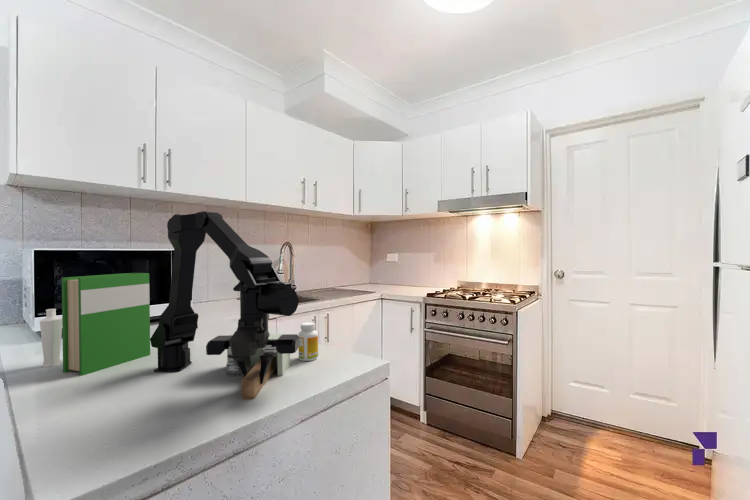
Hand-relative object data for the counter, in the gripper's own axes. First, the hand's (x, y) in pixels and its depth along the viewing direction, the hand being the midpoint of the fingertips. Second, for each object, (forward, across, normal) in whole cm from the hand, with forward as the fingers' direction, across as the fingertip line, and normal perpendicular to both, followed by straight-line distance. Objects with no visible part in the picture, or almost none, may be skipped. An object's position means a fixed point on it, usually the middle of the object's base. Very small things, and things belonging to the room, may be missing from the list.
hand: (255, 383), depth 76 cm
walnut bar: (+1, 0, +4) cm, 4 cm away
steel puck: (+1, -8, +11) cm, 14 cm away
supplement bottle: (+2, +8, +21) cm, 23 cm away
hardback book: (+1, -46, +20) cm, 50 cm away
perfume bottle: (+1, -61, +19) cm, 64 cm away
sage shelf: (+1, -4, +12) cm, 13 cm away
